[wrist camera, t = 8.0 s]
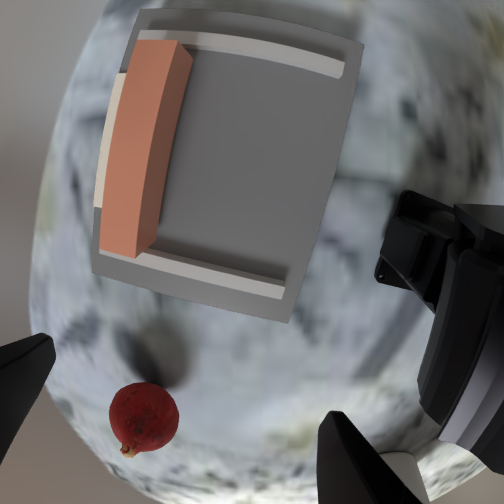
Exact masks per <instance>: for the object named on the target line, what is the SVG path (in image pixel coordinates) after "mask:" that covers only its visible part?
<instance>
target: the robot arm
mask: <svg viewBox="0 0 504 504" xmlns="http://www.w3.org/2000/svg"><path fill="white" fill-rule="evenodd" d="M409 194H410V200H408V201H407V199H406V197H407V195H409ZM380 254H381V257H380V260H379V262H378V265H377V268H376V270H375V273H374V277H375V279H376V280H377V281H378V282H379V283H382V284H386V285H391V286H395V287H399V288H403V289H407V290H412V291H414V292H415V293H416V294H417V295H418V296H419V298H420V299H421V300H422V301H423V302H424V303H425V304H426V305H427V306H428V308H429V309H430V310H431V311H432V312H433V313H434V314H435V318H434V322H433V326H432V329H431V333H430V337H429V340H428V344H427V347H426V351H425V354H424V357H423V360H422V364H421V367H420V370H419V375H418V379H417V382H418V387H419V393H420V396H421V397H420V400H419V402H420V404H421V406H422V407H423V409H424V411H425V412H426V413H427V414H428V415H429V416H430V417H431V418H432V419H433V420H434V421H435V422H436V423H438V424H439V425H441V427H440V429H439V431H438V432H437V434H436V438H437V439H438V440H441V441H445V442H449V443H453V444H456V445H458V446H460V447H462V448H464V449H466V450H468V451H470V452H471V453H473V454H474V455H475V456H476V457H478V458H479V459H480V460H481V461H482V462H483V463H484V464H485V465H486V466H487V467H488V468H489V469H490V470H491V471H493V472H495V473H498V474H502V475H504V206H501V205H480V204H454V208H452V207H449V206H447V205H445V204H443V203H440V202H438V201H436V200H433V199H431V198H428V197H426V196H424V195H421V194H419V193H416V192H414V191H411V190H404V191H403V192H402V194H401V196H400V200H399V203H398V206H397V210H396V213H395V216H394V217H392V218H391V221H390V224H389V227H388V230H387V233H386V236H385V239H384V242H383V245H382V248H381V250H380ZM381 273H384V275H383V277H379V276H380V274H381ZM55 360H56V352H55V348H54V343H53V339H52V337H51V336H49V335H47V334H45V333H38V334H36V335H33V336H30V337H27V338H24V339H21V340H18V341H15V342H12V343H10V344H7V345H4V346H1V347H0V465H1V463H2V461H3V459H4V457H5V455H6V453H7V451H8V449H9V447H10V445H11V443H12V441H13V439H14V437H15V436H16V434H17V432H18V430H19V428H20V426H21V425H22V423H23V421H24V419H25V418H26V416H27V414H28V412H29V411H30V409H31V407H32V406H33V404H34V402H35V401H36V399H37V397H38V395H39V393H40V391H41V389H42V387H43V385H44V383H45V381H46V379H47V377H48V375H49V373H50V371H51V369H52V367H53V365H54V363H55ZM316 473H317V489H318V504H423V503H422V502H421V501H420V500H419V499H418V498H417V497H416V496H415V495H414V494H413V493H412V492H411V490H410V489H409V488H408V487H407V486H405V484H404V483H403V482H402V480H401V479H400V478H399V477H398V476H397V475H396V474H395V472H394V471H393V470H392V469H391V468H390V467H389V466H388V464H387V463H386V462H385V461H384V460H383V459H382V457H381V456H380V455H379V454H378V453H377V452H376V450H375V449H374V448H373V447H372V446H371V445H370V443H369V442H368V441H367V440H366V439H365V438H364V436H363V435H362V434H361V433H360V432H359V430H358V429H357V428H356V427H355V426H354V424H353V423H352V422H351V421H350V420H349V418H348V417H347V416H346V415H345V414H344V413H343V412H342V411H330V412H328V414H327V415H326V417H325V418H324V420H323V421H322V423H321V424H320V426H319V429H318V447H317V469H316Z"/></svg>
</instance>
